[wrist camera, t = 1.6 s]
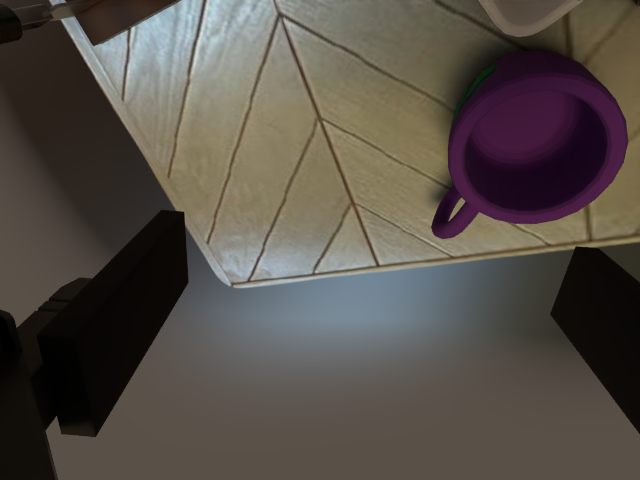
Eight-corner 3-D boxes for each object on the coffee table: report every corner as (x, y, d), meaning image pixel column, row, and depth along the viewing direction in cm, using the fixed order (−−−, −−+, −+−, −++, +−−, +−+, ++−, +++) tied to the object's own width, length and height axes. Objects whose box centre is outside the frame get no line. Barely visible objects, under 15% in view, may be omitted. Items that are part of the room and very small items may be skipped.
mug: (514, 10, 34) (526, 36, 26) (630, 89, 35) (676, 137, 27) (392, 174, 45) (375, 227, 37) (483, 231, 46) (485, 294, 38)
